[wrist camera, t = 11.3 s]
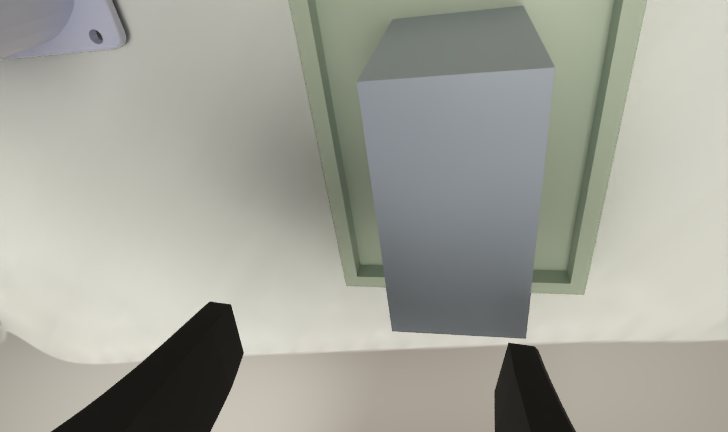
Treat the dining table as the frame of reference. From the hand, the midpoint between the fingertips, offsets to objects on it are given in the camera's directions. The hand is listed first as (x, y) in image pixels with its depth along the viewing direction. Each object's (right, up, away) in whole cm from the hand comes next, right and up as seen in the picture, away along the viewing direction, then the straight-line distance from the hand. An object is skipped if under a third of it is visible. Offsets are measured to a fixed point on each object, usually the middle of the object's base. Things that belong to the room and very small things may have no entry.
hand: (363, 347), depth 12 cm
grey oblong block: (+3, +7, +5) cm, 9 cm away
